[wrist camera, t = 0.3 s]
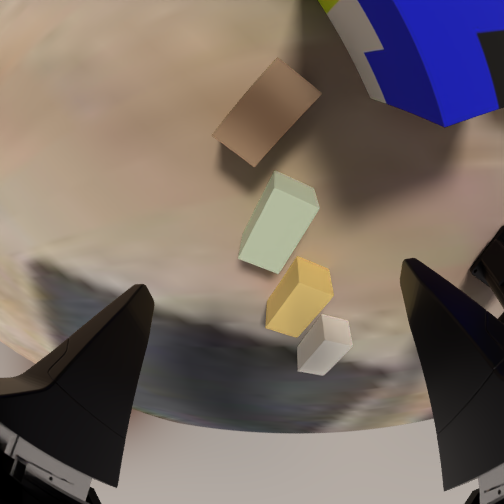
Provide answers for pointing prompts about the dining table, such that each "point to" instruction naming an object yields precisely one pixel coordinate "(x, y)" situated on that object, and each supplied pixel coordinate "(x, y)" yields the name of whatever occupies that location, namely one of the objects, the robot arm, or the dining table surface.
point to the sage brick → (278, 222)
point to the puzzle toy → (426, 53)
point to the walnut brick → (266, 112)
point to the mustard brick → (298, 297)
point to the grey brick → (324, 345)
